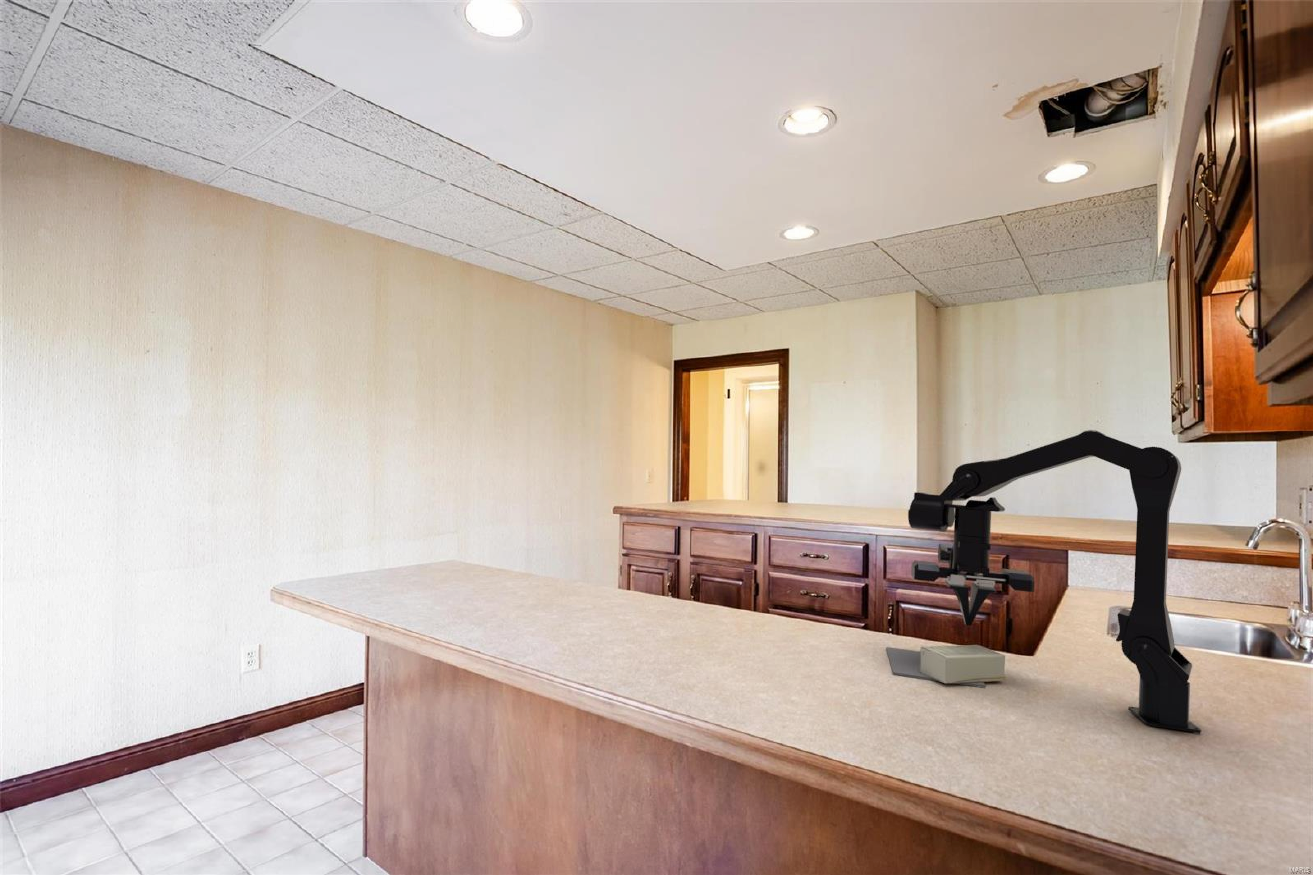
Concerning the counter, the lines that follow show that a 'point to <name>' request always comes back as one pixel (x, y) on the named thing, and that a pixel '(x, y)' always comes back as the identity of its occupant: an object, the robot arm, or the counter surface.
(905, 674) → the mat
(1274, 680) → the counter surface
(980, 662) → the skincare box
